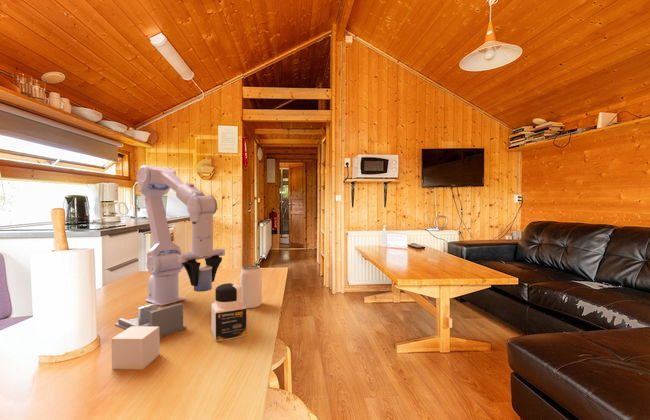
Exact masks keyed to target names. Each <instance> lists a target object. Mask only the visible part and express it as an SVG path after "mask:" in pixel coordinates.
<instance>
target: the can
mask: <svg viewBox="0 0 650 420" xmlns="http://www.w3.org/2000/svg"><path fill="white" fill-rule="evenodd" d="M239 274H240V276H239V280H240V282H239V285H240V286H241V301H242V303H243V304H244V305H245V306H246V310H249V309H256V308H260V306H261V305H262V297H263V295H262V294H263V292H262V289H263V288H262V287H263V284H262V283H263V282H262V281H263V280H262V278H263V277H262V276H263V275H262V274H263V273H262V270H261V266H260V265H256V264H255V265H253V264H250V265H243V266H242V267H241V270H240V273H239Z"/></svg>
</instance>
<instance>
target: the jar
mask: <svg viewBox="0 0 650 420" xmlns="http://www.w3.org/2000/svg"><path fill="white" fill-rule="evenodd" d="M211 290H213V282H212V266H206V265H200V267H199V272H198V286H193V292H197V293H200V292H207V291H211Z"/></svg>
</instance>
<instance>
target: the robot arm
mask: <svg viewBox="0 0 650 420" xmlns="http://www.w3.org/2000/svg"><path fill="white" fill-rule="evenodd" d="M136 181H137V185H138V189H139V193H140V194H142V195H143V201H144V204H145V209H146V214H147V219H148V223H149V228H150V232H151V233H150V234H151V237H152V242H153V246H152V247H151V248H150V249H149V250H148V251H147V252H146V269H147V271H148V272H149V274H150V276H149V279H148V280H147V288H148V291H147V293H148V295H147V296H148V297H147V298H146V299H145V302H148V303H151V304H154V303H157V304H158V306H161V307H164V306H167V305H170V304H173V303H177V302H182V301H184V300H185V297H182V296H180V292H179V291H180V290H179V285H180V284H179V282H180V281H179V280H180V279H179V273H181V272H182V271H181V270H182V269H183V268H184V269H185V270H186V272H187V276H188V279H189V282H190V285H191V286H193V287H194V286H198V272H199V267H200V266H201V263H202V262H199V260H204V261H205V266H212V283H213V282H215V278H216V275H217V271H218V270H219V269H218V268H219V266H220V265H221V264H222V261H223V257H222V256H225V255H226V251H225V250H226V249H225V248H215V249H214V215H215V214H216V212H217V211H218V201H217V199H216V198H215V197H214V195H211V194H210V195H209V194H208V195H206V194H205V193H204V192H203V191H202V190H199V189H198V188H197V187H195V184H194V183H193V182H186V183H185V182H184V181H183V180H182V179H181V178H180V177H179V176H178V175H177V172H176V170H174V169H173V168H172V167H162V166H161V167H160V166H150V165H145V164H143V165H141V166H140V167H139V168H138V171H137V175H136ZM170 190H172V191H174V192H175V196H176V198H178V199H177V200H179V201H180V202H182V203H183V204H184V205H185V206H186V208H187V212H188V214H189V221H190V222H191V251H190V252H187V253H182V251H181V247H180V246H179V245H177V244H176V243H174V242H173V241H172V238H171V233H170V229H169V224H168V219H167V214H166V211H165V206H164V202H163V196H165V195H167V194H168V193H169V191H170ZM197 260H198V261H197Z"/></svg>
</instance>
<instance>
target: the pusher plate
mask: <svg viewBox="0 0 650 420" xmlns="http://www.w3.org/2000/svg"><path fill="white" fill-rule="evenodd" d="M158 307H159V305H158V304H157V303H151V304H147V305H144V306H140V307H138V308H137V310H138V313H137V314H138V316H137V317H138V325H140V326H141V325H144V324H147V323H150V317H149V312H150V311H154V310H157V309H159V308H158Z"/></svg>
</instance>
